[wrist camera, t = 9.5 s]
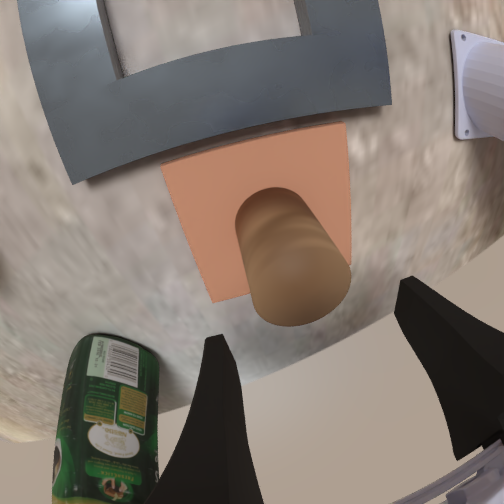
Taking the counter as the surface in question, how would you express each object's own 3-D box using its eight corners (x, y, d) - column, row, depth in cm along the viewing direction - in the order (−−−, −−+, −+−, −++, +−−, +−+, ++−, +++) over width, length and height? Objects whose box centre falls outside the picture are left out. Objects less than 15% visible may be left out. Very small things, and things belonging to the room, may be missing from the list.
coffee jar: (135, 396, 27) (142, 564, 12) (64, 372, 24) (49, 549, 9) (174, 350, 24) (195, 577, 9) (84, 316, 20) (58, 567, 5)
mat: (341, 121, 15) (345, 123, 15) (348, 260, 21) (351, 264, 21) (161, 163, 15) (160, 166, 14) (212, 298, 21) (212, 303, 20)
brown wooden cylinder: (304, 179, 16) (351, 235, 11) (311, 242, 19) (350, 310, 14) (226, 198, 16) (241, 265, 11) (244, 261, 19) (263, 336, 14)
